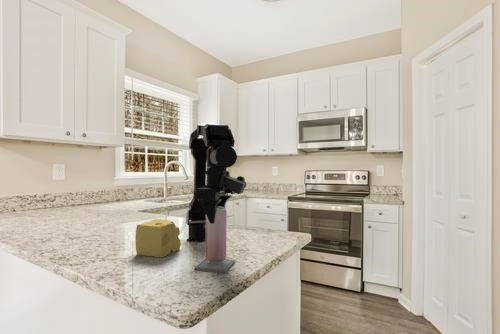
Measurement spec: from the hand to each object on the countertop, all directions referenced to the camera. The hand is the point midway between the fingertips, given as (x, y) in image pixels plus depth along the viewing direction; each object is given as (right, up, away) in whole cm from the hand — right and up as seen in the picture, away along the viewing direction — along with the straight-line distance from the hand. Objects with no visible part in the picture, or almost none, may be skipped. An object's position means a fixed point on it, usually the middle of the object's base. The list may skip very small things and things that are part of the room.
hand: (216, 221), depth 80 cm
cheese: (-21, -13, +12) cm, 27 cm away
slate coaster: (0, -13, 0) cm, 13 cm away
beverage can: (0, -11, 0) cm, 11 cm away
